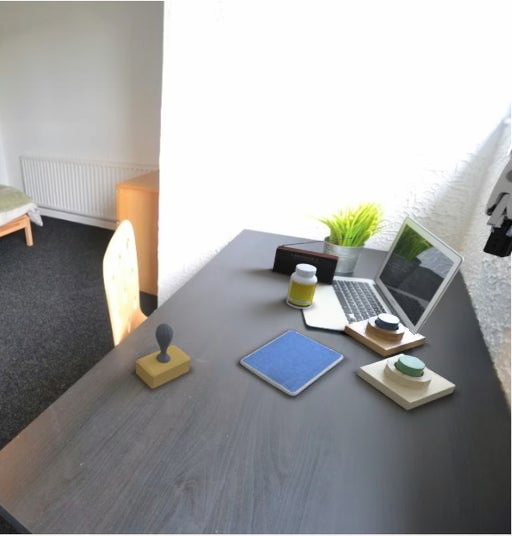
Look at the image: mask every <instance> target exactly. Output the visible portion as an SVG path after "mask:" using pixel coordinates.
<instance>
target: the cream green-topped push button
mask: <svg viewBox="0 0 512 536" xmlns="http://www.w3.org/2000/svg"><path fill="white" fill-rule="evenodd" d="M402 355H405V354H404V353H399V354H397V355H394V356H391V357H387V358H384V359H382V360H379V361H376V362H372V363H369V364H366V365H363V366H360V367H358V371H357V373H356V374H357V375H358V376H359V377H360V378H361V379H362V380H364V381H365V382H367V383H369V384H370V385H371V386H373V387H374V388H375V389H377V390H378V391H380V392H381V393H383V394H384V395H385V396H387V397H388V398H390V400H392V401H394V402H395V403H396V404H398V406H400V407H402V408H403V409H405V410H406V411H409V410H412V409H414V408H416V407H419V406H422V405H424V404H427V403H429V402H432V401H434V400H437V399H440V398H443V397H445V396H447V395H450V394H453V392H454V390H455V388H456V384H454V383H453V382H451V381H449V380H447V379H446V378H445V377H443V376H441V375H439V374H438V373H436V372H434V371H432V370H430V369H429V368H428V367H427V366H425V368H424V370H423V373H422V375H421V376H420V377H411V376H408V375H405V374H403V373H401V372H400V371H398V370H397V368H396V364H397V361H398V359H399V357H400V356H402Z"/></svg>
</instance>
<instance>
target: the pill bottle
mask: <svg viewBox="0 0 512 536" xmlns="http://www.w3.org/2000/svg"><path fill="white" fill-rule="evenodd" d="M295 271H296V272H294V273H293V274H292V275H291V276H290V278H289V285H288V289H287V293H286V294H287V295H286V301H285V302H286V304H287V305H288V306H290V307H292V308H295V309H299V310H307V309H310V308H311V307H312V304H313V301H314V296H315V293H316V288H317V283H318V282H317V278H316V276H315V274H316V268H315V267H314V266H312V265H308V264H298V265H297V266H296V270H295Z"/></svg>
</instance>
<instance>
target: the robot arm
mask: <svg viewBox="0 0 512 536" xmlns="http://www.w3.org/2000/svg"><path fill="white" fill-rule="evenodd" d="M506 155H507V156H508V157H509V158H508V160H507V161H506V163H505V165H504V167H503V169H502V171H501V172H500V174H499V176H498V178H497V180H496V182H495V184H494V186H493V188H492V190H491V193H490V195H489V197H488V200H487V202H486V205H485V208H484V213H485V215H486V216H487V217H489V218H488V220H487V222H486V225H487V226H490V230H489V231H490V233H489V235H488V237H487V239H486V243H485V245H484V247H483V249H482V252H483V253H485V254H488V255H492V256H495V257H497V258H501V259H502V258H503V259H504V258H508V257H510V256H511V254H512V144H511V145H510V148H509V149H508V152H507V154H506Z"/></svg>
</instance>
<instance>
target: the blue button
mask: <svg viewBox="0 0 512 536" xmlns="http://www.w3.org/2000/svg"><path fill="white" fill-rule="evenodd" d="M377 316H378V318H377V321H376V325H377V326H379V327H380V328H383V329H386V330H393V331H395V330H397V327H398V325H399V323H401V320H400V319H399V317H397V316H395V315H393V314H390V313H379V314H378V315H377Z"/></svg>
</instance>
